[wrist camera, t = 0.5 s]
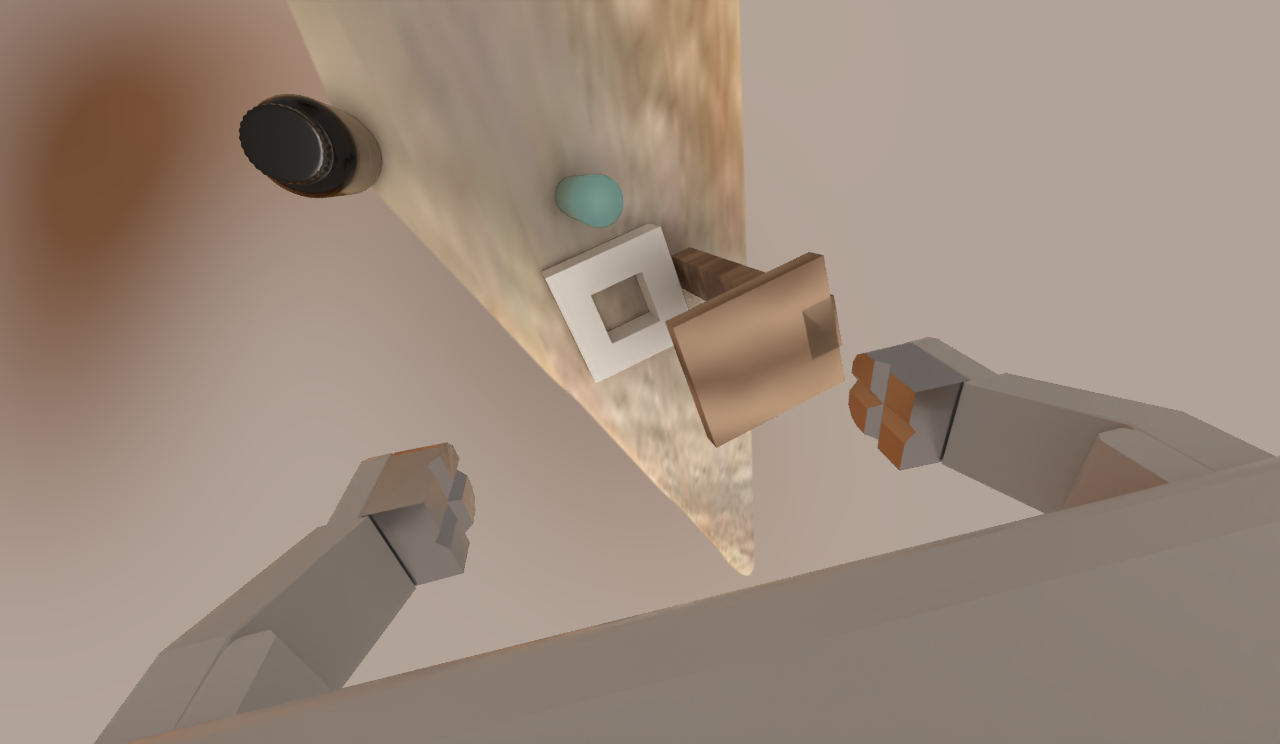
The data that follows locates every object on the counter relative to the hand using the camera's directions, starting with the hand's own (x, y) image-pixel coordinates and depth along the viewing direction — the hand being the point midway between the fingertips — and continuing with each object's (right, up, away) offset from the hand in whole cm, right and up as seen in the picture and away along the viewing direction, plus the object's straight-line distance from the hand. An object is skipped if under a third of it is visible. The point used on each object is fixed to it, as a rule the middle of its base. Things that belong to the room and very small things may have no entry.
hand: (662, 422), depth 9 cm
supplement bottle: (-27, +20, +31) cm, 46 cm away
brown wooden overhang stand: (+1, +11, +44) cm, 45 cm away
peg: (-7, +19, +38) cm, 43 cm away
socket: (-3, +9, +43) cm, 45 cm away
